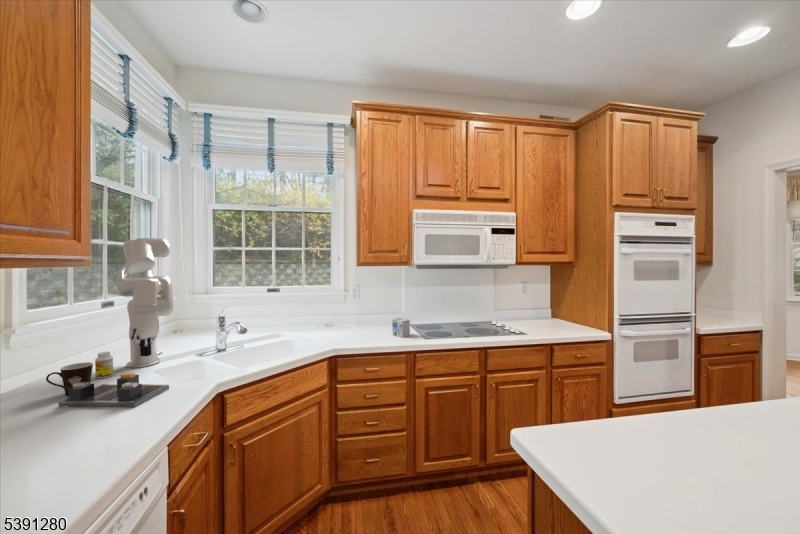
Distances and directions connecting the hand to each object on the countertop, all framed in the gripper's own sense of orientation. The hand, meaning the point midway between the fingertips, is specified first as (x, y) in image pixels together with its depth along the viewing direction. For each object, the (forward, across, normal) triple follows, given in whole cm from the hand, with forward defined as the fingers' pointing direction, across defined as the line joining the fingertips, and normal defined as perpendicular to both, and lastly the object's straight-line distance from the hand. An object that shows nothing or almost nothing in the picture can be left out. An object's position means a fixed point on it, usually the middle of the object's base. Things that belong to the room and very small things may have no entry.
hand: (145, 355), depth 130 cm
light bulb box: (+12, -87, +100) cm, 133 cm away
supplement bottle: (+11, -8, -25) cm, 28 cm away
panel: (+12, +12, -1) cm, 17 cm away
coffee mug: (+12, +9, -21) cm, 25 cm away
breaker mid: (+10, +8, -1) cm, 12 cm away
